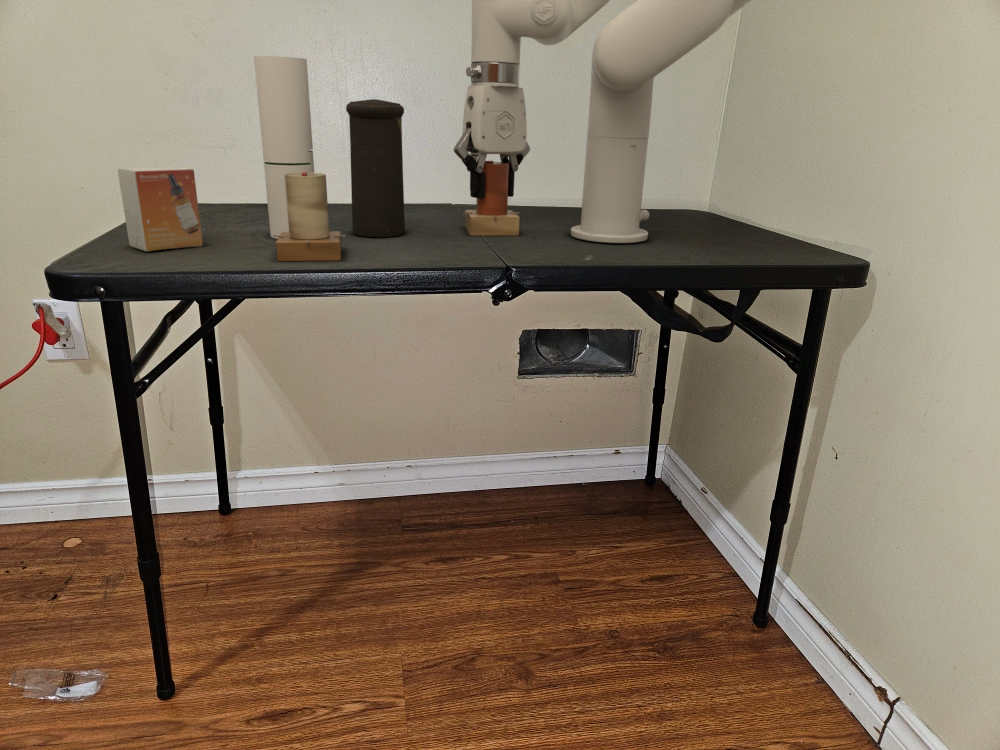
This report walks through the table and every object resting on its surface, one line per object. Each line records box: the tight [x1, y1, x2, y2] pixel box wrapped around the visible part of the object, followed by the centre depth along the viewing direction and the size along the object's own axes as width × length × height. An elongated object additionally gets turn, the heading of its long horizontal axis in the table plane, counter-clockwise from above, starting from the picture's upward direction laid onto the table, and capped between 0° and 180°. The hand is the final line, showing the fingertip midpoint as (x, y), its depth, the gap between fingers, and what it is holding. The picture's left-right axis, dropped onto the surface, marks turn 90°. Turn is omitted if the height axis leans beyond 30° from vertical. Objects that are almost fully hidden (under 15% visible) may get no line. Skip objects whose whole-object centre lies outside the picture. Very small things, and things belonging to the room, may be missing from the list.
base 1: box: [273, 230, 346, 262], centre depth 92 cm, size 9×9×3 cm
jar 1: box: [285, 172, 330, 239], centre depth 90 cm, size 5×5×8 cm
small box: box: [117, 165, 203, 252], centre depth 93 cm, size 8×6×10 cm
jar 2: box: [475, 160, 509, 215], centre depth 112 cm, size 5×5×8 cm
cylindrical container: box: [253, 55, 315, 240], centre depth 101 cm, size 7×7×25 cm
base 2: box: [463, 209, 521, 237], centre depth 114 cm, size 9×9×3 cm
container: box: [345, 98, 406, 238], centre depth 106 cm, size 9×9×20 cm
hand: (492, 195), depth 112 cm, fingers closed on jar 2, 5 cm apart
